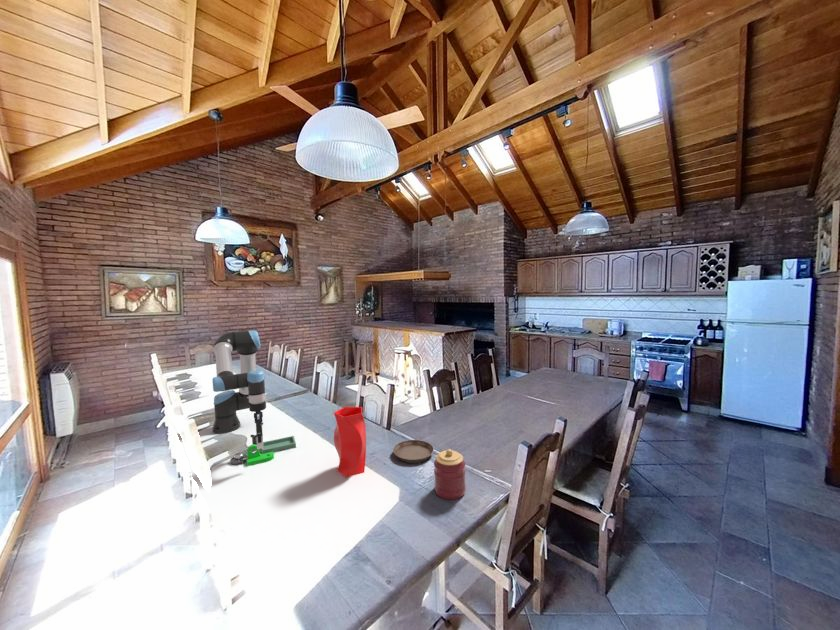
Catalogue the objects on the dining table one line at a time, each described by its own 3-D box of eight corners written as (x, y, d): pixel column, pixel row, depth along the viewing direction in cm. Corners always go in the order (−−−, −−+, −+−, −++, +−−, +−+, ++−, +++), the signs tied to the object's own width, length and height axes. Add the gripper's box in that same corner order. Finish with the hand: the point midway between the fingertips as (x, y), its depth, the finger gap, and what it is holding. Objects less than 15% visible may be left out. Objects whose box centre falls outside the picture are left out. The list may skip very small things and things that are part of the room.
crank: (238, 460, 161) (237, 445, 161) (232, 458, 164) (231, 443, 163) (260, 450, 172) (259, 435, 172) (254, 448, 174) (253, 434, 174)
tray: (262, 446, 179) (261, 442, 179) (293, 439, 187) (293, 435, 187) (262, 454, 170) (262, 450, 170) (296, 447, 177) (295, 443, 177)
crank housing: (230, 459, 166) (230, 456, 166) (248, 455, 170) (248, 453, 170) (229, 466, 159) (229, 463, 159) (247, 462, 163) (247, 459, 163)
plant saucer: (439, 449, 171) (439, 443, 171) (423, 469, 152) (423, 462, 152) (405, 442, 179) (404, 437, 179) (385, 460, 161) (385, 454, 161)
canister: (457, 504, 126) (456, 460, 125) (428, 494, 133) (427, 452, 131) (470, 486, 137) (470, 446, 135) (443, 478, 144) (442, 439, 142)
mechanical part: (247, 466, 159) (246, 450, 159) (248, 461, 164) (247, 445, 164) (274, 460, 164) (273, 445, 164) (273, 455, 170) (272, 440, 169)
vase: (372, 464, 157) (370, 408, 156) (357, 480, 144) (354, 419, 142) (345, 459, 162) (343, 405, 161) (328, 475, 149) (325, 415, 147)
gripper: (249, 396, 171) (252, 435, 172) (248, 410, 149) (251, 455, 150) (265, 394, 174) (267, 432, 176) (266, 407, 152) (269, 451, 153)
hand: (260, 443), depth 163 cm, fingers open, 13 cm apart
